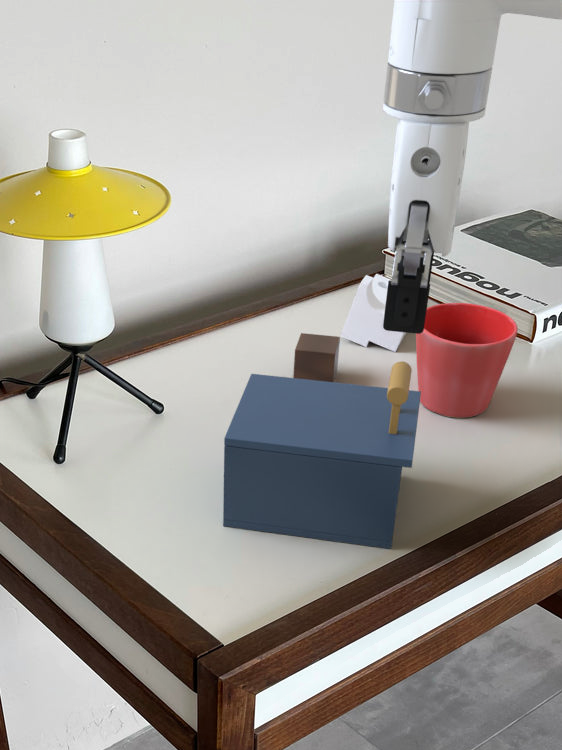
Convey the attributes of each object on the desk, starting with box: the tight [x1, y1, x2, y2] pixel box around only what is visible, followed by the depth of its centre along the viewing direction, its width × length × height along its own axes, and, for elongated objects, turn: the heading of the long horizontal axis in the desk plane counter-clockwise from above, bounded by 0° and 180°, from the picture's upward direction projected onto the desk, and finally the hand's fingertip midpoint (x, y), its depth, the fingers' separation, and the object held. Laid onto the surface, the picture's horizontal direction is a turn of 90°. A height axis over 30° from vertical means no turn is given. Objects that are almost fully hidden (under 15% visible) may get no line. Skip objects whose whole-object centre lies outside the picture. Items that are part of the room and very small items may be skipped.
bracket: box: [339, 273, 407, 353], centre depth 128 cm, size 13×7×8 cm, turn 157°
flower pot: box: [415, 302, 519, 419], centre depth 111 cm, size 11×11×10 cm
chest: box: [222, 445, 403, 550], centre depth 96 cm, size 16×13×9 cm
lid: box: [223, 361, 421, 469], centre depth 92 cm, size 16×13×6 cm
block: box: [292, 332, 341, 382], centre depth 118 cm, size 5×5×5 cm
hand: (406, 306), depth 85 cm, fingers open, 9 cm apart
